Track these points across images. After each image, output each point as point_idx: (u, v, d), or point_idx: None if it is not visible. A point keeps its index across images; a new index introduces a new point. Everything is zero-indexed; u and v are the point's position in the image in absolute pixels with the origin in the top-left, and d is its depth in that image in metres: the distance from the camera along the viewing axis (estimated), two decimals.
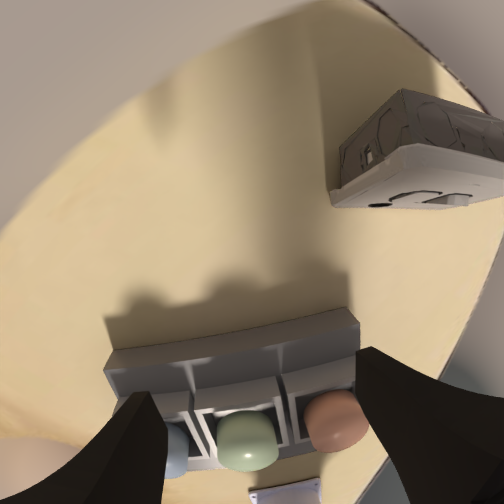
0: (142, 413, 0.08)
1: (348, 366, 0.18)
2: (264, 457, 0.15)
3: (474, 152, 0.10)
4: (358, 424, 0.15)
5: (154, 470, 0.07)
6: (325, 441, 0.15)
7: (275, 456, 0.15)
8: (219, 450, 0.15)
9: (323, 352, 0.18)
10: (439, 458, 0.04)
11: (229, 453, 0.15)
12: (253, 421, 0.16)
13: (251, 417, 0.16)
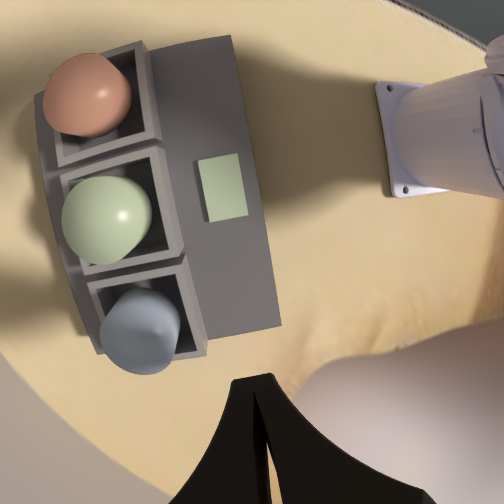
0: (255, 399, 0.08)
1: None
2: (103, 197, 0.11)
3: None
4: (66, 74, 0.09)
5: (265, 459, 0.07)
6: (83, 111, 0.10)
7: (101, 180, 0.11)
8: (87, 260, 0.11)
9: None
10: None
11: (92, 247, 0.11)
12: None
13: None
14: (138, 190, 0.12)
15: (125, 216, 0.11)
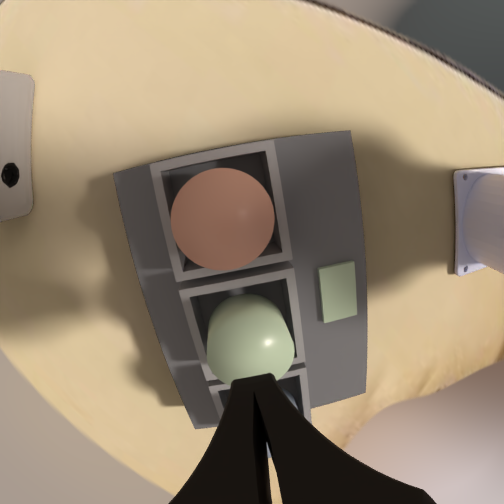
0: (255, 399, 0.08)
1: None
2: (259, 336, 0.12)
3: None
4: (202, 192, 0.10)
5: (265, 459, 0.07)
6: (234, 246, 0.11)
7: (258, 321, 0.12)
8: None
9: (151, 216, 0.14)
10: None
11: (242, 376, 0.12)
12: (208, 331, 0.13)
13: (208, 329, 0.13)
14: (281, 316, 0.13)
15: (281, 351, 0.12)
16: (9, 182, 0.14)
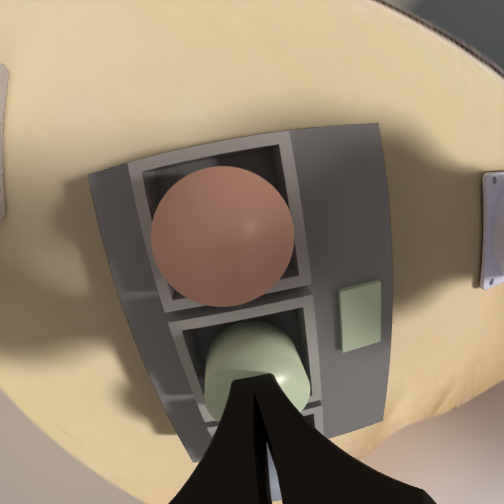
0: (255, 399, 0.08)
1: None
2: None
3: None
4: (193, 200, 0.07)
5: (265, 459, 0.07)
6: (238, 275, 0.08)
7: (267, 360, 0.09)
8: None
9: (133, 228, 0.11)
10: None
11: None
12: (206, 366, 0.10)
13: (206, 362, 0.11)
14: (294, 348, 0.11)
15: (294, 392, 0.10)
16: None
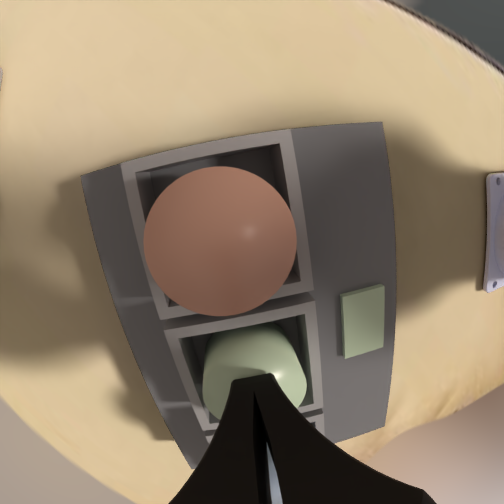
0: (255, 399, 0.08)
1: None
2: (265, 372, 0.09)
3: None
4: (189, 203, 0.07)
5: (265, 459, 0.07)
6: (237, 283, 0.07)
7: (264, 356, 0.09)
8: None
9: (128, 231, 0.11)
10: None
11: None
12: (204, 363, 0.11)
13: (204, 359, 0.11)
14: (290, 345, 0.11)
15: (291, 388, 0.10)
16: None
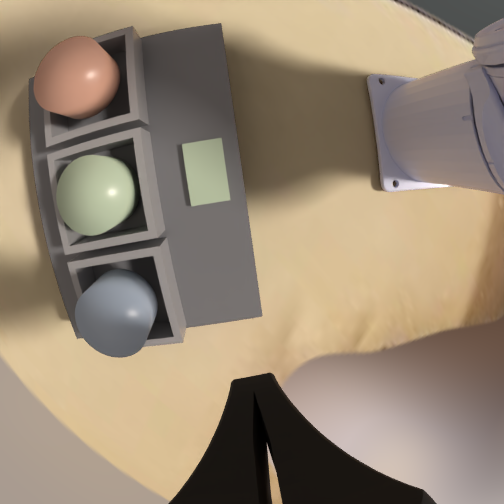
0: (255, 399, 0.08)
1: None
2: (94, 173, 0.12)
3: None
4: (57, 55, 0.09)
5: (265, 459, 0.07)
6: (70, 90, 0.10)
7: (94, 158, 0.12)
8: (77, 231, 0.12)
9: None
10: None
11: (82, 219, 0.12)
12: None
13: None
14: (127, 169, 0.13)
15: (113, 191, 0.12)
16: None
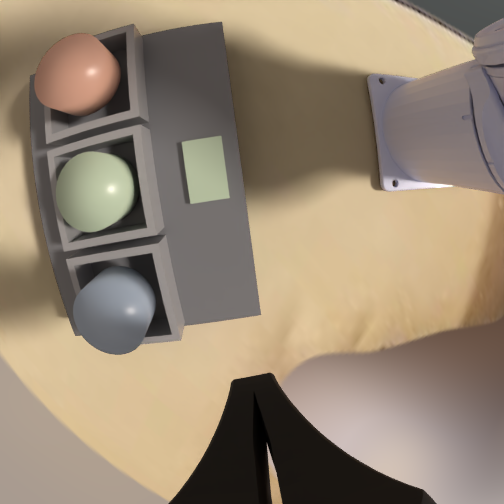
0: (255, 399, 0.08)
1: None
2: (94, 170, 0.12)
3: None
4: (58, 52, 0.09)
5: (265, 459, 0.07)
6: (71, 87, 0.09)
7: (94, 155, 0.11)
8: (76, 228, 0.12)
9: None
10: None
11: (81, 215, 0.12)
12: None
13: None
14: (127, 166, 0.13)
15: (113, 187, 0.12)
16: None
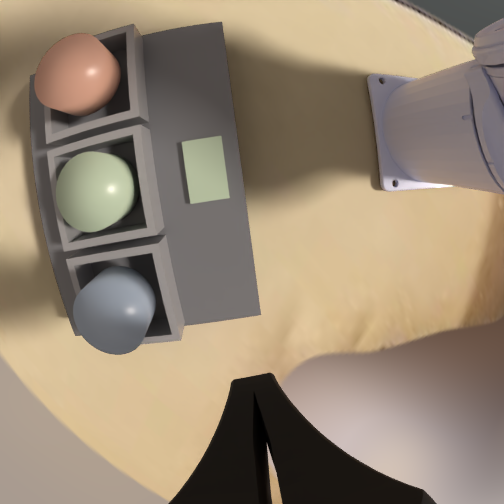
0: (255, 399, 0.08)
1: None
2: (94, 170, 0.12)
3: None
4: (58, 52, 0.09)
5: (265, 459, 0.07)
6: (71, 87, 0.09)
7: (94, 155, 0.11)
8: (76, 228, 0.12)
9: None
10: None
11: (81, 215, 0.12)
12: None
13: None
14: (127, 166, 0.13)
15: (113, 187, 0.12)
16: None
